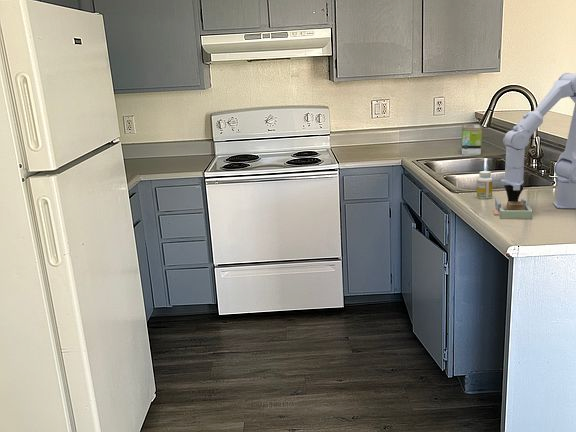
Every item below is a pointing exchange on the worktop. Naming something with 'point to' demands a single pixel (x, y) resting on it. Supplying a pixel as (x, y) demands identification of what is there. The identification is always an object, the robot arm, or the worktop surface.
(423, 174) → the worktop surface
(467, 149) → the tea box
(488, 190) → the supplement bottle
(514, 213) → the channel
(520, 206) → the walnut block
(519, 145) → the robot arm
